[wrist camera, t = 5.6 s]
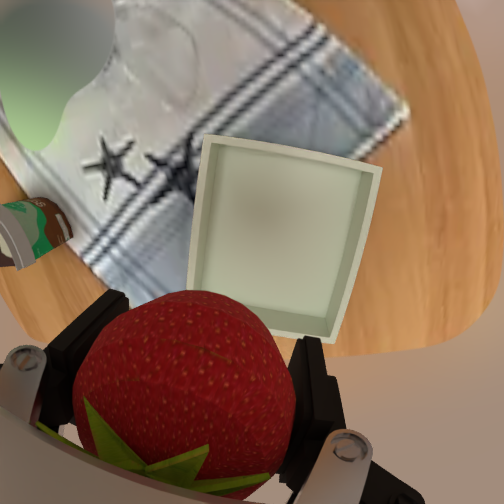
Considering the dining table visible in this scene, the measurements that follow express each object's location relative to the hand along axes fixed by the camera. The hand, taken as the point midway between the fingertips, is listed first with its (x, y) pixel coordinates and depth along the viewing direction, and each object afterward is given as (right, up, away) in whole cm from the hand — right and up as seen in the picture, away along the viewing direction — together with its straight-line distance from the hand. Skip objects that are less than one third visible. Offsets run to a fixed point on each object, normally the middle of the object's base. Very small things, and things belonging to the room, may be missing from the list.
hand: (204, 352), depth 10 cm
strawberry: (0, +1, +2) cm, 2 cm away
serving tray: (+4, +5, +17) cm, 18 cm away
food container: (-22, +8, +18) cm, 30 cm away
